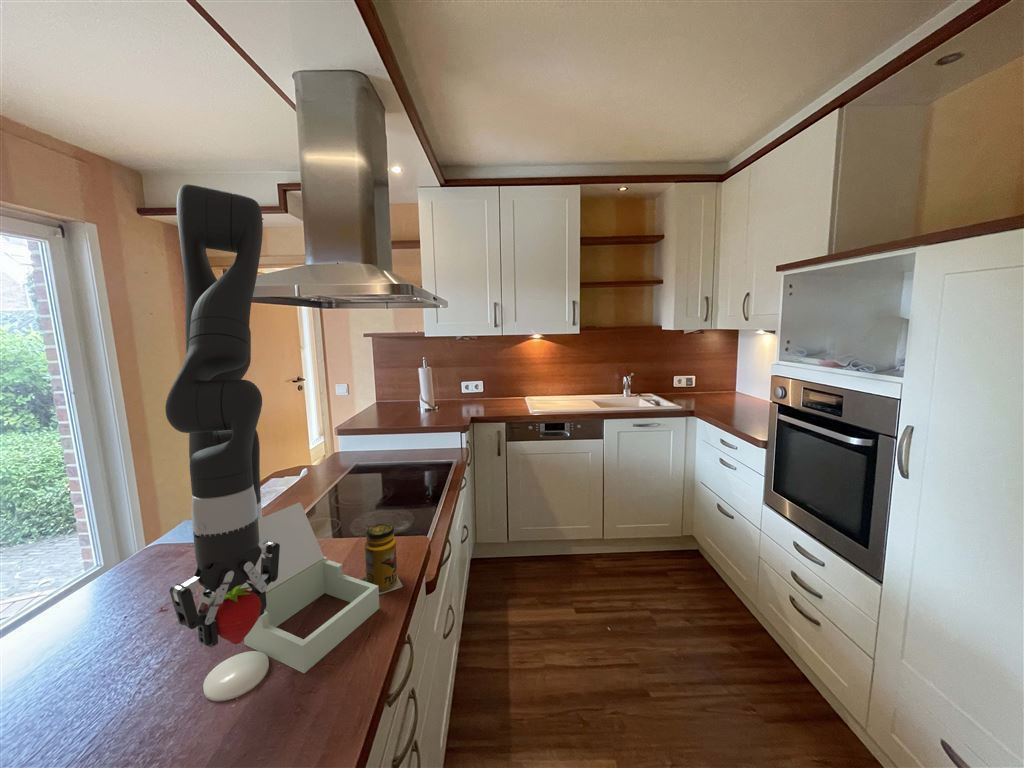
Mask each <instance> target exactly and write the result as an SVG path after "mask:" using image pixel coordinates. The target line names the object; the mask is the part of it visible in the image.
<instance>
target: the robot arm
mask: <svg viewBox="0 0 1024 768" xmlns="http://www.w3.org/2000/svg"><path fill="white" fill-rule="evenodd" d="M176 219H177V228H178V229H177V230H178V237H179V245H180V252H181V253H180V254H181V263H182V268H183V269H182V270H183V277H184V278H183V279H184V293H185V294H184V295H185V296H184V297H185V299H184V300H185V301H184V302H185V346H186V347H185V349H186V353H185V354H186V355H185V358H184V360H183V363H182V365H181V368H180V369H179V372H178V374H177V376H176V378H175V380H174V382H173V384H172V386H171V388H170V390H169V392H168V395H167V396H166V397H167V398H166V400H165V416H166V419H167V422H168V423H169V424H170V425H171V427H173V429H174V430H176V431H178V432H181V433H184V434H188V436H189V437H188V448H189V449H188V455H189V456H188V457H189V475H190V486H191V499H192V500H191V509H190V510H191V522H192V523H191V525H192V533H193V534H192V535H193V546H194V555H195V556H194V557H195V561H196V565H197V566H196V571H195V572H194V576H193V577H191V578H190V579H188V580H186V581H185V582H184V583H183V582H182V584H180V583H175V584H172V586H171V587H170V588H169V594H170V598H171V600H172V604H173V607H174V611H175V613H176V618H177V620H178V621H177V622H178V624H180V625H182V626H185V627H187V628H188V629H190V630H195V629H196V628H197V635H198V642H199V643H200V644H202V645H204V646H206V647H209V648H214V647H215V646H217V645H218V644H219V635H218V633H217V622H216V620H214V618H215V615H216V613H217V610H218V607H219V605H221V604H222V603H223V600H224V598H225V595H226V593H228V592H230V591H231V590H232V589H234V588H235V587H237V586H239V585H242V584H244V583H246V584H247V585H248V586H249V587H251V589H252V590H251V592H253V593H255V594H257V595H258V596H259V598H260V601H261V606H262V607H261V610H260V614H259V617H260V616H261V615H263V614H264V609H266V605H267V604H266V589H267V586H268V585H269V584H270V583H271V582H274V581H276V580H277V578H278V566H279V551H280V545H279V544H278V543H275V542H272V541H268V540H266V541H265V542H264V543H263V545H261V546H259V545H258V544H259V527H258V519H261V518H263V512H262V511H263V510H262V495H261V474H260V473H261V469H260V468H261V467H260V463H261V460H260V456H261V455H260V454H261V453H260V451H261V450H260V447H261V446H260V437H259V433H258V431H257V426H258V423H259V419H260V416H261V412H262V407H263V395H262V392H261V391H260V389H259V388H258V386H257V385H256V384H255V383H253V382H252V381H250V380H248V379H243V378H244V377H245V375H246V374H247V372H248V371H249V367H250V366H251V362H252V361H251V359H252V357H251V355H252V350H251V349H252V343H251V341H252V340H251V339H252V337H251V336H252V332H251V327H250V325H251V324H250V322H251V321H250V319H251V308H252V302H253V297H254V292H255V288H256V283H257V277H258V270H259V264H260V259H261V252H262V247H263V245H262V244H263V235H264V233H263V231H264V229H263V228H264V224H263V214H262V209H261V206H260V205H259V202H258V201H257V200H255V199H253V198H251V197H248V196H246V195H242V194H237V193H235V192H234V193H233V192H229V191H225V190H220V189H214V188H211V187H210V188H209V187H206V186H201V185H198V184H191V183H185V184H183V185H181V186H180V187H179V189H178V192H177V197H176ZM207 249H209V250H214V251H215V250H216V251H222V252H230V253H235V254H236V255H235V259H234V260H233V261H232V264H231V265H230V267H228V269H227V270H226V271H225V272H224V273H223V274H222V275H221V276H220V277H219V278H217V277H216V276H215V274H214V270H213V269H212V266H211V264H210V260H209V257H208V255H207ZM260 556H261V557H262V559H261V575H260V573H259V572H258V571H257V570H256V568H255V566H256V564H257V562H258V560H259V558H260ZM199 585H200V586H202V588H201V590H200V593H199V596H198V606H196V603H195V600H194V598H196V596H197V588H198V587H199Z"/></svg>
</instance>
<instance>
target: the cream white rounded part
mask: <svg viewBox="0 0 1024 768" xmlns="http://www.w3.org/2000/svg"><path fill="white" fill-rule="evenodd" d="M269 667H270V663H269V656H267V655H266V654H264V653H262V652H259V651H257V650H253V651H252V650H251V651H245V652H241V653H237V654H235V655H232V656H230V657H228V658H227V659H224V660H223V661H221V662H220V663H219V664H217V665H216V666H215V667H214V668H213V669H212V670H210V672H209V673H208V674H207V675H206V676H205V679H204V680H203V686H202V688H203V694H204V696H205V698H206V699H207V700H210V701H211V702H226V701H229V700H232V699H236V698H239V697H241V696H242V695H245V694H247V693H248V692H249V691H251V690H252V689H254V688H256V686H257V685H259V684H260V683H261V682H262V681H263V680H264V679H265V677H266V675H267V674H268V672H269Z"/></svg>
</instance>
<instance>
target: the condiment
mask: <svg viewBox="0 0 1024 768" xmlns="http://www.w3.org/2000/svg"><path fill="white" fill-rule="evenodd" d="M394 532H395V529H394V526H393V525H391V524H389V523H377V524H373V525H372V526H369V528H368V529H367V530H366V539H365V540H366V542H365V544H364V552H365V553H364V554H365V556H364V557H365V576H364V577H362V578H358V579H359V580H362V581H365V582H368V583H371V584H374V585H377V586H379V595H383V594H386V593H389V592H393V591H395V590H397V589H401V588H403V587H404V585H403V583H402V582H401V580H400V579H399V578H398V573H397V572H398V568H397V566H398V565H397V558H398V557H397V540H396V538H395V533H394Z"/></svg>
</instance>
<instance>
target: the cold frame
mask: <svg viewBox="0 0 1024 768" xmlns="http://www.w3.org/2000/svg"><path fill="white" fill-rule="evenodd" d="M258 527H259V544H258V545H259V546H261V545H263V543H264V542H265V541H266V540H268V541H272V542H275V543H278V544H279V545H280V551H279V566H278V578H277V580H276V581H274V582H271V583H270V584H269V585H268V586H267V589H266V604H267V605H266V609H264V614H263V615H261V616H260V617H259V618H258V620H257V622H256V623H255V625H254V626H253V628H252V629H251V631H250V632H249V633H248V634H247V635H246V636H245V638H244V639H243V641H244V643H243V644H244V645H245V646H247V647H249V648H251V649H253V650H254V651H259V652H262V653H264V654H266V655H267V657H268V658H271V659H273V660H275V661H277V662H279V663H282V664H284V665H286V666H287V667H290V668H291V669H294V670H296V671H298V672H300V673H302V674H306V673H307V672H308V671H309V670H310V669H311V668H312V667H314V666H315V665H316V664H317V663H318V662H319V661H320V660H322V659H323V658H324V657H325V656H327V655H328V654H329V653H330V652H331V651H332V650H333V649H334V648H336V647H337V646H338V645H339V644H340V643H341V642H342V641H344V639H346V638H347V637H348V636H349V635H350V634H352V633H353V632H354V631H355V630H356V629H357V628H359V627H360V626H362V624H363V623H364V622H365V621H366V620H368V619H369V618H370V617H371V616H373V615H374V613H376V612H377V611H378V610H379V609H380V594H379V586H377V585H374V584H371V583H368V582H365V581H362V580H359V579H360V578H355V577H352V576H350V575H346V574H344V573H343V564H342V563H340V562H336V561H332V560H329V559H328V557H327V556H325V555H324V553H323V551H322V548H321V546H320V544H319V541H318V539H317V537H316V534H315V533H314V531H313V528H312V526H311V523H310V521H309V518H308V516H307V514H306V511H305V510H304V507H303V504H302V502H301V501H299V502H296V503H294V504H291V505H289V506H288V507H285V508H282V509H280V510H278V511H275V512H273V513H270V514H268V515H265V516H262V518H261V519H258ZM261 559H262V557H261V556H260V558H259V560H258V562H257V564H256V566H255V568H256V570H257V571H258V572H259V573H260V575H261ZM246 587H249V586H248V585H247V584H246V583H244V584H243V585H242V586H241V587H240V588H246ZM248 590H249V591H251V590H252V589H251V588H250V589H248ZM324 594H326V595H329V596H332V597H334V598H336V599H340V600H342V601H346V602H348V603H349V604H347V605H346V606H345V607H344V608H342V609H341V610H340V611H339V612H337V613H336V614H335V615H333V616H331V617H330V618H329V619H328V620H327V621H326V622H324V623H323V624H322V625H321V626H319V627H318V628H317V629H314V631H313V632H311V633H310V634H309V635H307V636H306V637H305V638H304V639H303V638H301V637H299V636H296V635H294V634H292V633H290V632H288V631H285V630H283V629H281V628H279V626H280V625H281V624H282V623H284V622H286V621H287V620H288V619H290V618H292V616H294V615H295V614H298V613H299V612H300V611H301V610H303V609H304V608H305V607H307V606H308V605H310V604H311V603H313V602H314V601H316V600H317V599H318V598H320V597H321V596H323V595H324Z"/></svg>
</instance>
